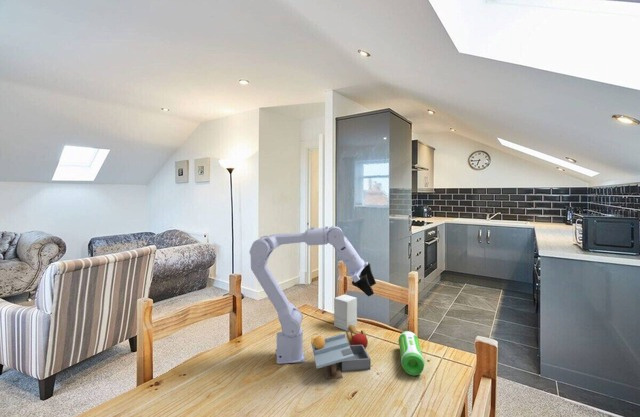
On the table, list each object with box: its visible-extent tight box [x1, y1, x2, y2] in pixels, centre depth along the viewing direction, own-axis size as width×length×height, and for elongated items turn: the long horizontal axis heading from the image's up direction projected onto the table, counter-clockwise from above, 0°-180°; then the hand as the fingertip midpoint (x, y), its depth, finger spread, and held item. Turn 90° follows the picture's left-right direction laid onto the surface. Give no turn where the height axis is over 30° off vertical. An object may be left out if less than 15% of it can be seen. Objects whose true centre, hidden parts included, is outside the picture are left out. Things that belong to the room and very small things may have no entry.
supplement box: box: [333, 293, 358, 332], centre depth 130 cm, size 7×7×13 cm
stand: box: [323, 362, 344, 380], centre depth 98 cm, size 5×10×5 cm, turn 8°
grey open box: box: [338, 345, 372, 373], centre depth 102 cm, size 10×10×4 cm
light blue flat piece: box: [310, 333, 354, 369], centre depth 97 cm, size 12×13×2 cm
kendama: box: [346, 325, 369, 350], centre depth 116 cm, size 8×6×18 cm
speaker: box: [398, 330, 425, 376], centre depth 102 cm, size 18×7×8 cm, turn 169°
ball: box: [312, 335, 325, 349], centre depth 100 cm, size 4×4×4 cm
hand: (372, 289), depth 102 cm, fingers open, 7 cm apart
